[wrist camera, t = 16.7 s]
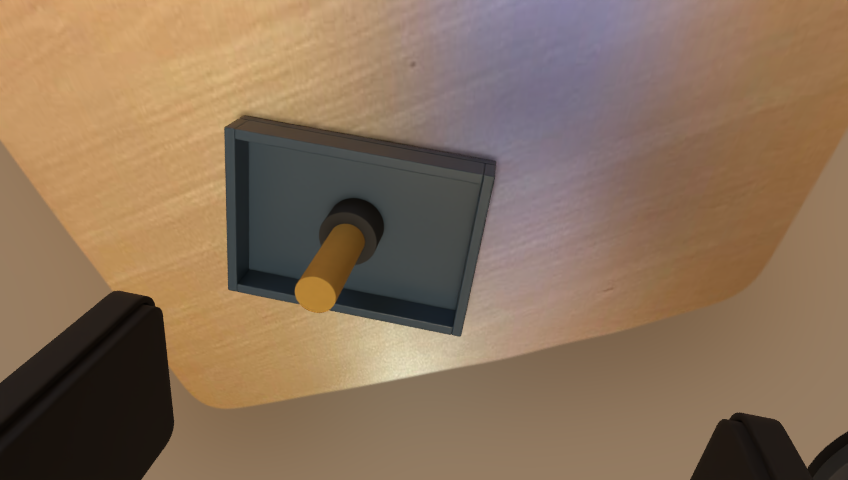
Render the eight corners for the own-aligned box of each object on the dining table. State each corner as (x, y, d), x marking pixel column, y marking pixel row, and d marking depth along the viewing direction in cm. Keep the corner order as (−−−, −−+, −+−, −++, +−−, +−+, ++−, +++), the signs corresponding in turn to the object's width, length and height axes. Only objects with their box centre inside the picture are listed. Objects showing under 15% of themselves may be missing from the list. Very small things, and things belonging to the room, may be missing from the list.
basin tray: (496, 161, 38) (495, 176, 35) (463, 313, 43) (460, 337, 41) (243, 115, 39) (223, 126, 36) (244, 270, 44) (227, 290, 42)
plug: (387, 203, 39) (352, 271, 31) (381, 253, 41) (346, 330, 33) (331, 193, 39) (281, 257, 31) (327, 243, 41) (279, 317, 33)
